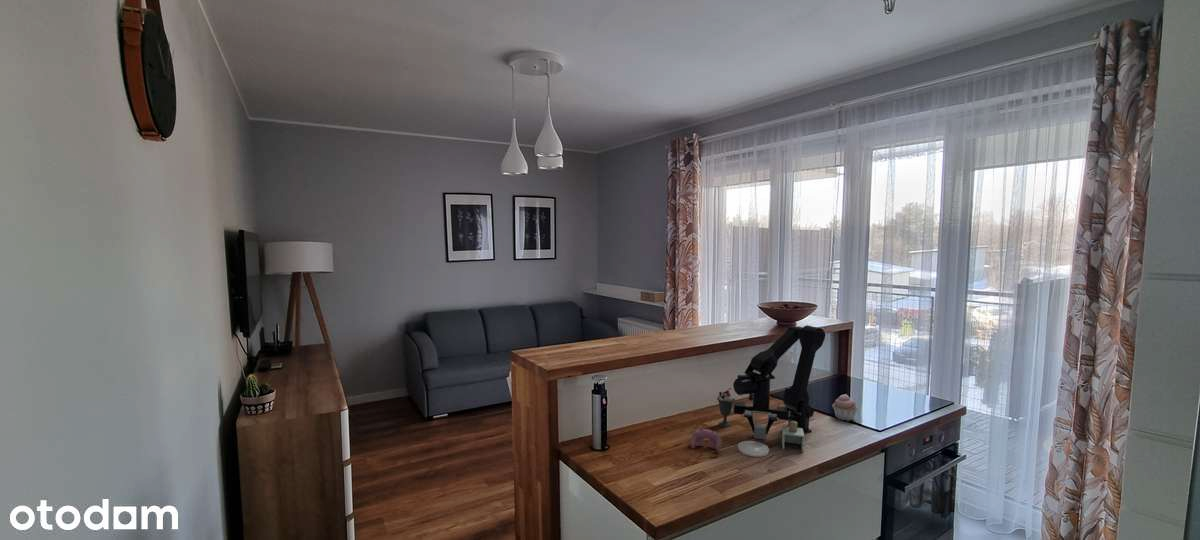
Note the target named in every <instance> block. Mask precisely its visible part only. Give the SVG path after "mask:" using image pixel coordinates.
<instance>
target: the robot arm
mask: <svg viewBox="0 0 1200 540" xmlns="http://www.w3.org/2000/svg"><path fill="white" fill-rule="evenodd" d="M825 339H826V332H825V331H824V329H823V328H821V327H817V326H813V325H808V324H807V325H804V326H793V325H791V326H789V327H787V329H786V331H785V332H784V333H783V334H782V335H781V336H780V337H779V338H778V339H776V340H775V342H774V343H773V344H772V345H771V346H770V347H768V348H767V349H766V350H764V351H761V352H758V353H757V354H756V355H754V356H753V357H752V358H751V360H750V362H749V364H748V366H747V368H746V369H745V371H744V374H738V375H737V378H735V379H734V382H733V383H732V385H733V390H734V392H735V394H736V395H737V396H744V395H748V400H749V402H752V406H750V405H746V402H742V401H734V402H733V403H734V404H733V411H732V412H733V414H735V415H741V416H742V415H743V417H744V418H747V420H748V423H749V426H750V429H751V431H752V433H753V434H754V425H755V420H754V413H757V414H763V415H764V414H765V415H767V423H766V436H768V434H769V431H770V430H771V427H772V426H773V424H774V422H778V420H783V421H787V422H788V423H787V425H786V426H788V427H789V421H796V422H797V428H803V432H804V433H812V429H810V418H812V417H813V416H814V413H815V410H814V409H813V408H812V407H811V405H810V404H809V401H810V396H809V393H808V385H809V380H810V376H811V373H812V369H813V366H814V361H815V357H816V353H817V351H818V350H819V349H820V348H821V347H823V344H824V341H825ZM797 341H799V343H800V347H801V349H800V352H799V353H800V354H799V356H798V357H799V358H798V361H797V367H796V371H795V373H794V378H793V382H792V385H791V386H790V387H789V388H787V387H786V388H785V389H784V394H783V396H782V399H783V405H784V406H779V405H778V406H776V408H770V402H771V401H770V399H771V398H770V397H771V396H770V395H771V392H770V391H771V380H775V379H776V377H775V375H773V374H772V373H773V372H774V370H775V369H776V367H777V366H778V362H779V360H780V359H781V358H782V356H783V355H785V354H786V353H787V351H789V349H791V347H792V346H793V345H795V344H796V343H797Z"/></svg>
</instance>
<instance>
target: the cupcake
mask: <svg viewBox="0 0 1200 540" xmlns="http://www.w3.org/2000/svg"><path fill="white" fill-rule="evenodd" d="M831 406H832V409H834V410H833V411H834V414H835V415H834V416H835V418H836V417H837V418H836V419H837V420H840V419H841V420H840V421H843V420H846V421H845V422H851V421H850V420H852V421H854V419H855V417H856V413H857V412H858V410H859V408H858V407H857V404H856V402H855V400H854V399H853V398H851V397H850V396H849V395H848V394H847V393H845V394H841V395H840V396H838V397H837V398H836V399H835V401H834V402H833V404H831Z"/></svg>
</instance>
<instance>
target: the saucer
mask: <svg viewBox="0 0 1200 540" xmlns="http://www.w3.org/2000/svg"><path fill="white" fill-rule="evenodd" d="M737 450H738V452H740V453H741V454H743V455H746V456H749V457H755V458H762V457H766V456H769V454H770V449H769V446H768V445H766V444H764V443H763V442H759V441H755V440H742V441H741V442H739V443H738V444H737Z"/></svg>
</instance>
